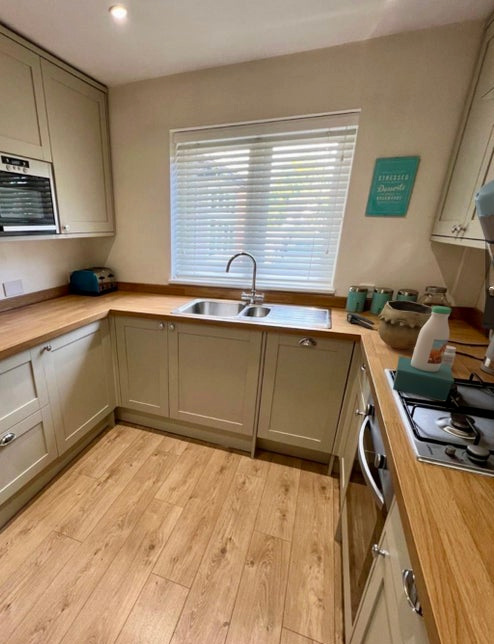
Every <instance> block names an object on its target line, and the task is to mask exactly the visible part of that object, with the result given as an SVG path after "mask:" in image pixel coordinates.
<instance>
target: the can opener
mask: <svg viewBox="0 0 494 644" xmlns="http://www.w3.org/2000/svg"><path fill="white" fill-rule="evenodd" d="M346 321H347V322H348V323H350V324H358V325H360V326H362V327H364V328H366V329H369V330H373V326H374V325H375V322H374V321H372V320H370V319H368V318H366V317H364V316H362V315H360V314H358V313H354V312H348V313H347V314H346ZM371 325H372V326H371Z"/></svg>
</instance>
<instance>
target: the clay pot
mask: <svg viewBox="0 0 494 644" xmlns="http://www.w3.org/2000/svg"><path fill="white" fill-rule="evenodd" d="M432 309H433V307H431V306H429V305H426V304H423V303H419V302H415V301H412V300H404V299H395V300H387V301H386V303H385V304H384V306H383V309H382V310H381V312H380V314H379V315H378V316H377V317H378V318H379V320H380V322H379V325H378V327H377V328H378V335H379V338H380V339H381V341H382V342H383V343H384V344H386V345H387V346H389V347H391V348H394V349H400V350H409V349H413V348H415V346H416V343H417V339H418V336H419V333H420V331H421V329H422V327H423V326H424V325H425V324H426V323H427V321H428V320H429V319H430V317H431V315H432Z"/></svg>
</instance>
